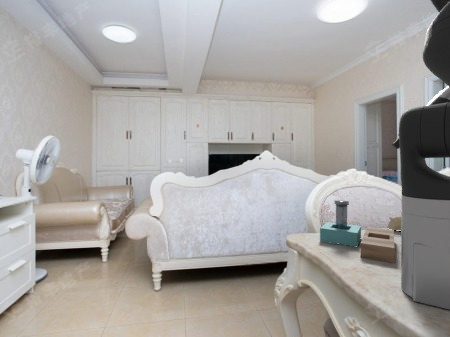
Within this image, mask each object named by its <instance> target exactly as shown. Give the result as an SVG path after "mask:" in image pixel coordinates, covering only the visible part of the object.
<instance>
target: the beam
mask: <svg viewBox="0 0 450 337" xmlns="http://www.w3.org/2000/svg"><path fill="white" fill-rule="evenodd" d="M365 228H366V229H365V231H364V234H363V235H362V237H361V240H360V258H363V257H364V258H365V259H370V260H375V261H381V262H388V263H392V264H395V249H396V247H395V231H394V230H389V229H387V228H382V227H381V228H379V227H371V226H367V227H365Z"/></svg>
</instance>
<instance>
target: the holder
mask: <svg viewBox="0 0 450 337" xmlns="http://www.w3.org/2000/svg"><path fill="white" fill-rule="evenodd" d="M360 238H361V239H362V226H361V225H357V224H356V225H355V224H348V223H347V230H345V229H337V228H336V222H331V221H327V222H325V223H324V224H323V225H322V226H321V227H320V228H319V241H320V242H321V241H325V242H324V243H327V242H331V243H330V244H334V243H339V244H338V245H340V244H346V245H351V246H350V247H352V246H358V247H359V245H360V242H361V240H360ZM359 241H360V242H359ZM358 244H359V245H358ZM346 245H345V246H346Z"/></svg>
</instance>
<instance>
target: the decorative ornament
mask: <svg viewBox="0 0 450 337" xmlns="http://www.w3.org/2000/svg"><path fill="white" fill-rule="evenodd" d="M388 219H389V222H388V224H387V226H386V227H387V228H389V229H392V230H401V215H396V216H393V217H391V216H388ZM387 228H386V229H387Z"/></svg>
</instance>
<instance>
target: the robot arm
mask: <svg viewBox="0 0 450 337" xmlns="http://www.w3.org/2000/svg"><path fill="white" fill-rule="evenodd" d="M430 3H431V4H432V5H433V7H434V9H436V11H437V12H438V13H437V15H436V16H435V17H434V18H433V20H432V21H431V23H430V24H429V26H428V28H427V30H426V33H425V39H424V43H423V48H422V61H423V63H424V65H425V67H426V68H427V69H428V70H429V72H430V73H432V74H433V75H434V76H435V77H436V78H438V79H439V80H440V81H442V82H443V83H444V84H445V85H447V86H446V87H445V88H444V89H442V90H440V91H439V92H438V93H437V94H436V95H435V96H434V97H433V98H432V99H431V100H430V101H429V102H428V103H427V104H426V105H422V106H416V107H412V108H408V109H405V110H404V112H402V114H401V116H400V120H399V123H398V133H397V136H398V138H396V140H395V141H393V143H392V147H394V148H395V149H396V150H399V157H400V182H401V215H400V216H401V232H400V234H401V236H400V239H401V240H400V242H401V245H400V246H401V249H400V250H401V252H400V253H401V254H400V259H401V262H400V266H401V268H400V271H401V273H400V274H401V276H400V277H401V280H400V282H401V285H400V287H401V290H402V291H403V292H404V293H405V294H406V295H407V296H409V297H411V298H412V300H413V301H412V302H416V303H421V304H424V305H429V306H434V307H437V308H442V309H446V310H450V175H449V176H448V175H446V174H443V173H440V172H438V171H436V170H434V169H433V168H431V167H430V166H429V165H427V164H428V163H427V161H426V159H439V158H440V159H441V158H442V159H443V158H445V159H446V158H447V159H449V158H450V0H430Z"/></svg>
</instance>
